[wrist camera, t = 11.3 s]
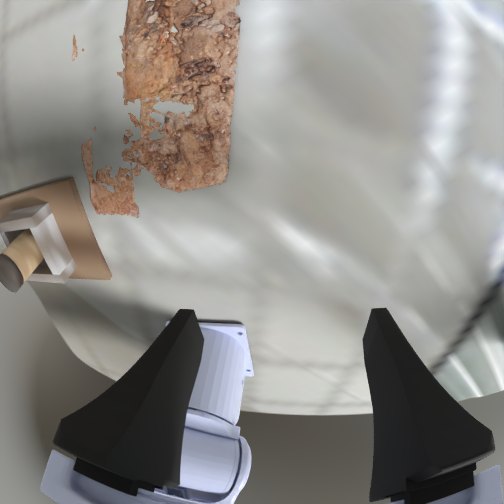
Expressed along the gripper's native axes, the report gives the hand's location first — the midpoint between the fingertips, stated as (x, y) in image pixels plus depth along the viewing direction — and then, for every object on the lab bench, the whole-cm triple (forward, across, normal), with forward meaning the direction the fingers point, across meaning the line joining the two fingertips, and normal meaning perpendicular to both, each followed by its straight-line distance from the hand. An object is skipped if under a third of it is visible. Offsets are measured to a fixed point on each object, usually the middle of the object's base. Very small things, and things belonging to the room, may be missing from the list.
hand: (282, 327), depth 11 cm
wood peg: (+9, +23, 0) cm, 25 cm away
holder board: (+9, +23, 0) cm, 25 cm away
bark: (+10, +8, -11) cm, 17 cm away
